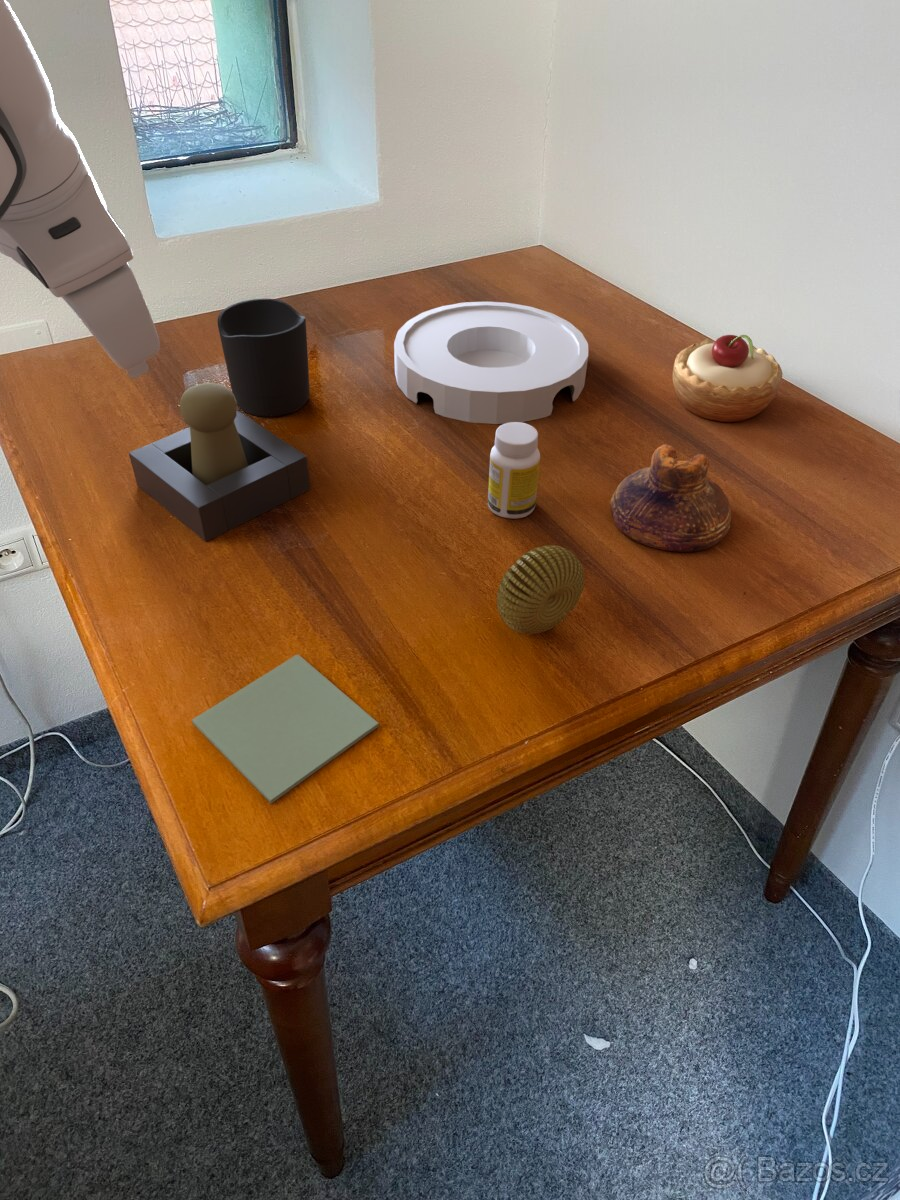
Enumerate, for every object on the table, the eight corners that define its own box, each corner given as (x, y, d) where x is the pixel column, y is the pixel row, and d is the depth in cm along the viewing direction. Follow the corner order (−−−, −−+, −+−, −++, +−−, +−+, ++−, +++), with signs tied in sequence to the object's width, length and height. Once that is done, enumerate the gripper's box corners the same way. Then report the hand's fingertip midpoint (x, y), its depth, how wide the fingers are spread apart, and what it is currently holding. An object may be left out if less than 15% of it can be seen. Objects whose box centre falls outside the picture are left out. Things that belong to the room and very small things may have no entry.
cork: (248, 506, 86) (231, 407, 79) (187, 504, 86) (164, 406, 79) (259, 471, 91) (244, 374, 83) (200, 469, 91) (180, 373, 83)
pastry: (717, 368, 109) (734, 299, 103) (792, 409, 102) (815, 338, 96) (646, 394, 104) (660, 323, 98) (721, 439, 97) (740, 366, 91)
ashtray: (571, 331, 116) (575, 301, 113) (598, 424, 99) (603, 392, 96) (396, 330, 115) (395, 300, 112) (393, 423, 98) (392, 392, 95)
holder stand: (205, 542, 82) (198, 507, 79) (137, 486, 88) (128, 452, 86) (310, 489, 89) (307, 456, 86) (239, 440, 95) (234, 408, 92)
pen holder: (320, 381, 105) (313, 301, 98) (303, 423, 98) (294, 339, 91) (243, 376, 105) (231, 296, 98) (220, 417, 98) (205, 333, 92)
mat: (271, 804, 61) (270, 800, 61) (192, 723, 66) (191, 719, 66) (379, 726, 66) (378, 723, 66) (298, 657, 71) (297, 653, 71)
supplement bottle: (542, 499, 88) (550, 427, 82) (524, 525, 85) (532, 451, 79) (498, 487, 90) (503, 414, 84) (479, 512, 86) (483, 438, 81)
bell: (584, 509, 87) (593, 447, 82) (666, 469, 92) (680, 408, 87) (672, 572, 80) (688, 508, 75) (755, 524, 86) (776, 462, 81)
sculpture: (558, 594, 78) (568, 523, 72) (587, 621, 75) (600, 549, 70) (484, 628, 74) (489, 556, 69) (513, 657, 72) (520, 584, 66)
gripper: (-56, 153, 68) (30, 293, 80) (57, 294, 60) (133, 426, 72) (19, 119, 69) (92, 261, 82) (138, 252, 61) (200, 388, 73)
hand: (112, 339), depth 77 cm, fingers open, 8 cm apart
